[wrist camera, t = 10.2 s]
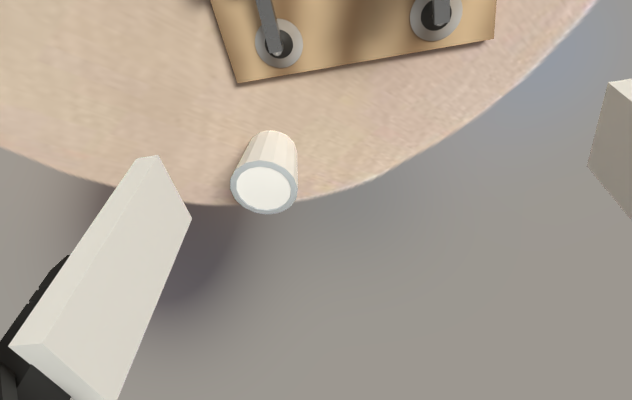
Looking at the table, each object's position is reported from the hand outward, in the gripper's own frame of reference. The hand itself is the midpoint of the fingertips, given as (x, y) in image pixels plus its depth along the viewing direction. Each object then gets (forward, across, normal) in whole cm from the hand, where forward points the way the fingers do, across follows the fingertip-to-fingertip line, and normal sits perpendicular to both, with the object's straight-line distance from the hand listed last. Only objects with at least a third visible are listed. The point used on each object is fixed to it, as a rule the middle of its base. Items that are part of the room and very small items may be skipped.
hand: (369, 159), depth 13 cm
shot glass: (+29, -11, -16) cm, 35 cm away
